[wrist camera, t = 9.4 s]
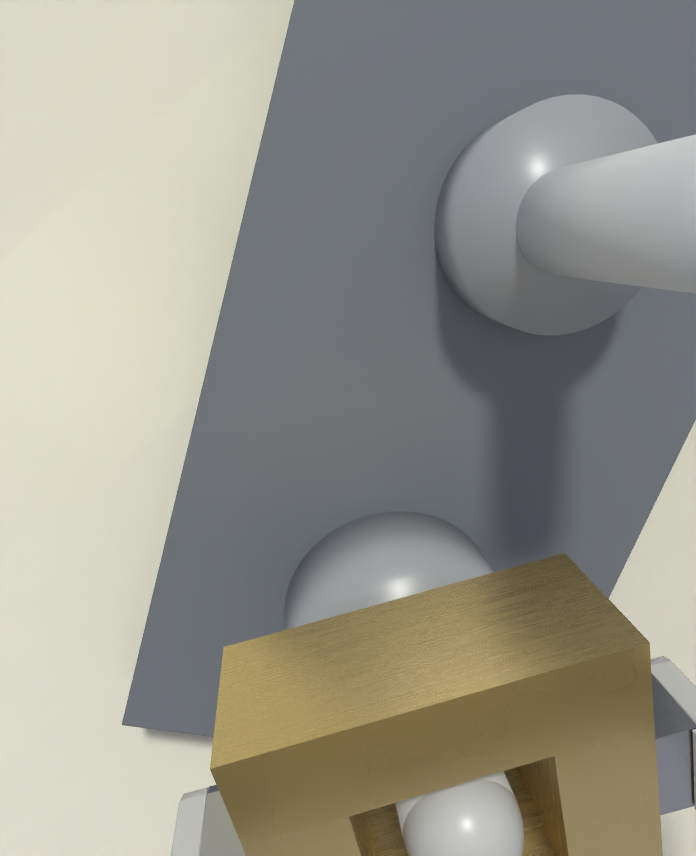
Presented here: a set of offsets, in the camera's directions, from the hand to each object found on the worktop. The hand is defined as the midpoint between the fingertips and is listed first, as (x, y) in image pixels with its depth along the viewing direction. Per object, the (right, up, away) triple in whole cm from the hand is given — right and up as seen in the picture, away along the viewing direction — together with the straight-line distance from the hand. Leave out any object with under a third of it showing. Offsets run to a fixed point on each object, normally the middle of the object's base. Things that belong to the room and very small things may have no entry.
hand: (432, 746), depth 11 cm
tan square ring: (0, 0, 0) cm, 0 cm away
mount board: (+1, +6, +4) cm, 8 cm away
